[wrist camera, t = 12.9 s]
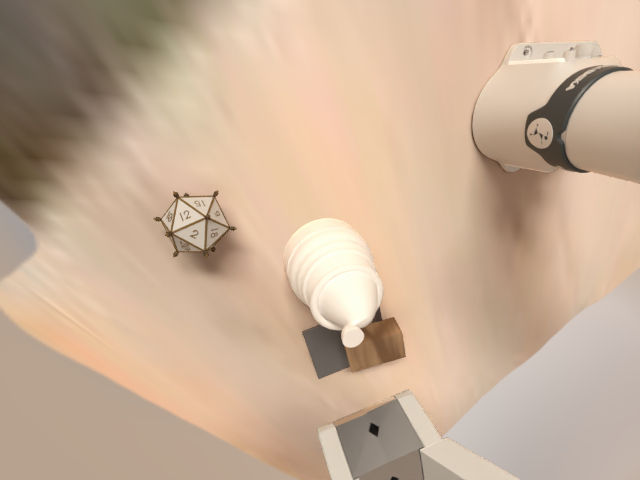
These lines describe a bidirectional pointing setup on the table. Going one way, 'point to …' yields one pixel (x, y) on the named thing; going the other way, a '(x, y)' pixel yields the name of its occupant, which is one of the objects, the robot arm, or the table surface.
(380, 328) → the walnut block
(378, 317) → the rail
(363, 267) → the honey pot
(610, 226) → the table surface
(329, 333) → the mat
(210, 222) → the twenty-sided die
